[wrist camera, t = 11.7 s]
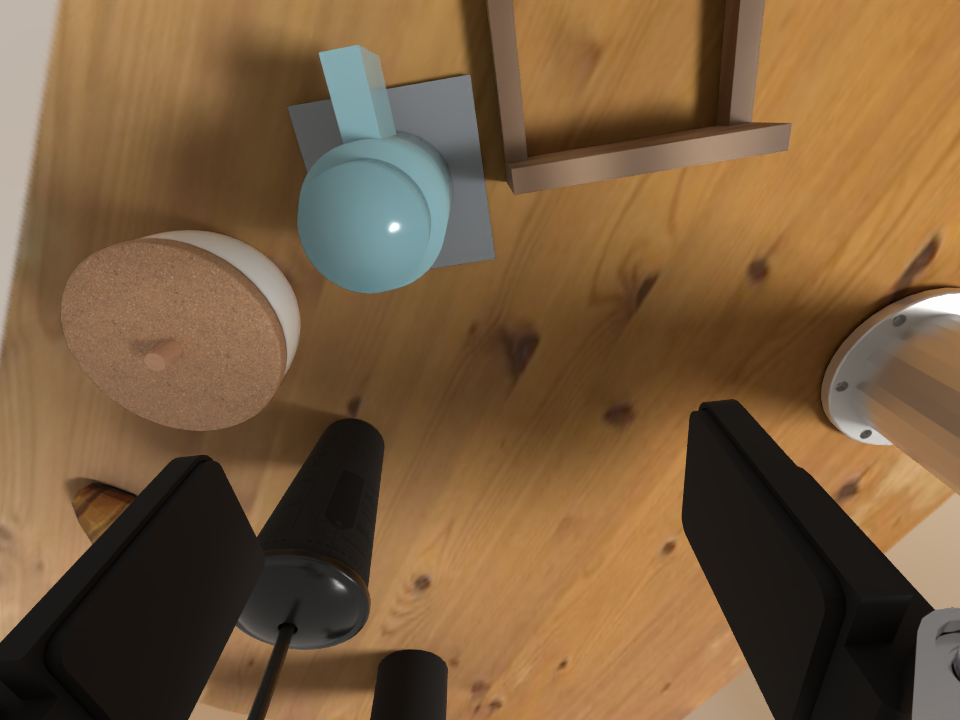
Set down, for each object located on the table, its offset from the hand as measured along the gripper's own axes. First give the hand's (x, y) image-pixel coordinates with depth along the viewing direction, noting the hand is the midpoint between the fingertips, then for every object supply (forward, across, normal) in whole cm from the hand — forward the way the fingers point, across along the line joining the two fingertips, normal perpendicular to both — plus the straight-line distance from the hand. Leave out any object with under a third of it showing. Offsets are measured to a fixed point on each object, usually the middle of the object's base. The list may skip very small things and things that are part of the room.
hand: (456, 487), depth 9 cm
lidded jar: (+22, +16, +1) cm, 27 cm away
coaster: (+22, +4, -4) cm, 23 cm away
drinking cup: (+22, +12, +14) cm, 29 cm away
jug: (+21, +4, -5) cm, 22 cm away
